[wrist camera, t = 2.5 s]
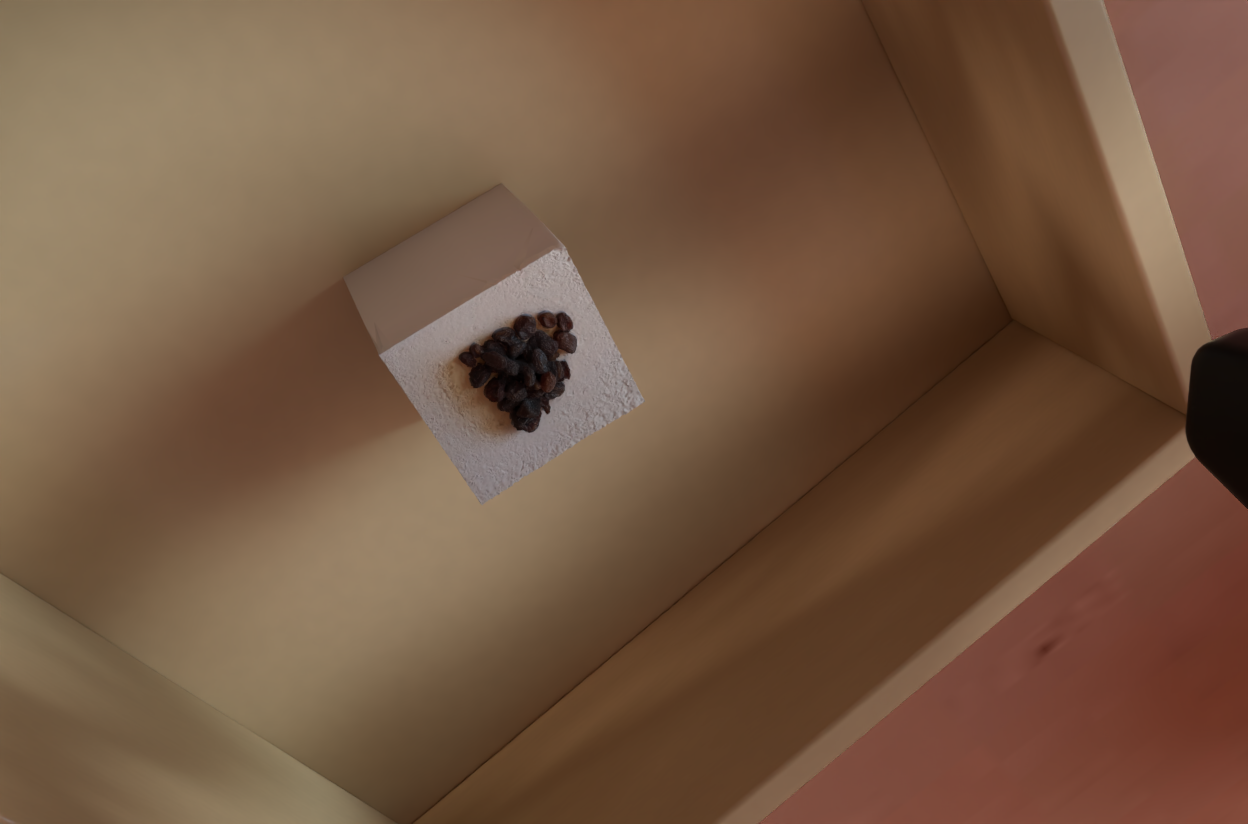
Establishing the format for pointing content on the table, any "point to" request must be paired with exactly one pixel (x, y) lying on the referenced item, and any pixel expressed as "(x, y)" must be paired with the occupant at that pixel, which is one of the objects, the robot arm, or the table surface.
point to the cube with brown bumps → (494, 340)
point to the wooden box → (597, 465)
